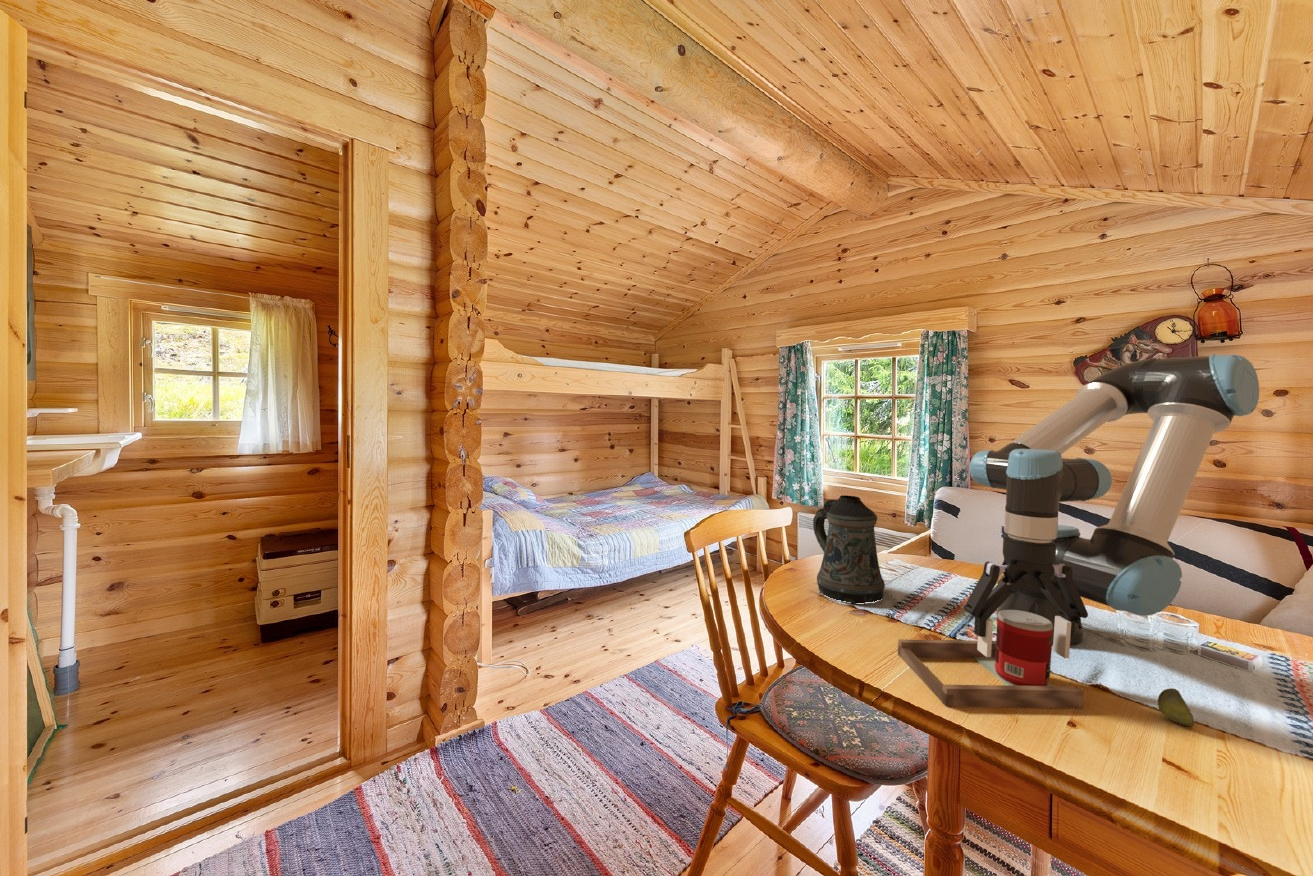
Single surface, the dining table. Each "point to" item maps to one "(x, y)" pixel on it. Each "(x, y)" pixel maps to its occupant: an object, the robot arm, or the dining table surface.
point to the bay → (982, 693)
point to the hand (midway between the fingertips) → (1022, 654)
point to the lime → (1175, 707)
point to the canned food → (1023, 648)
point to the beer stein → (848, 551)
